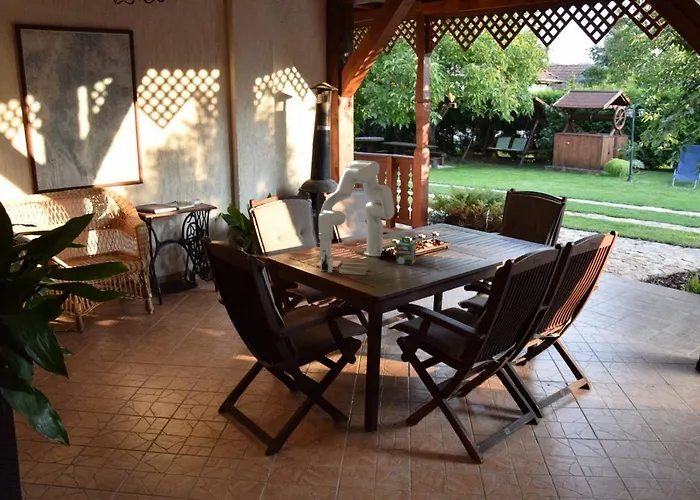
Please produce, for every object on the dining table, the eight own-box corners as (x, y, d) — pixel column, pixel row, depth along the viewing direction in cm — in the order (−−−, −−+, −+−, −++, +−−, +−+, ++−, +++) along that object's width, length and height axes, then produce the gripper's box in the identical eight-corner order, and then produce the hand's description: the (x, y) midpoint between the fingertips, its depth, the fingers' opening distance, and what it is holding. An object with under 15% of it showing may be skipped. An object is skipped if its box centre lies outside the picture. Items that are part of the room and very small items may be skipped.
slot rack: (342, 268, 353) (342, 262, 352) (367, 270, 351) (368, 263, 350) (339, 273, 344) (339, 267, 343) (365, 274, 342) (365, 268, 341)
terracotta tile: (320, 261, 368) (320, 259, 368) (341, 262, 367) (341, 260, 366) (315, 267, 357) (315, 265, 357) (337, 267, 355) (337, 266, 355)
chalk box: (415, 261, 369) (416, 236, 366) (411, 265, 361) (412, 239, 357) (400, 260, 372) (400, 234, 369) (395, 264, 364) (396, 238, 360)
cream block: (322, 269, 353) (322, 256, 351) (333, 269, 352) (333, 256, 350) (320, 272, 347) (320, 259, 345) (331, 272, 346) (331, 259, 345)
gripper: (322, 232, 354) (322, 264, 358) (315, 239, 337) (315, 272, 341) (335, 233, 353) (335, 265, 357) (329, 239, 336) (330, 273, 340)
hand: (326, 268), depth 349 cm, fingers closed on cream block, 6 cm apart
